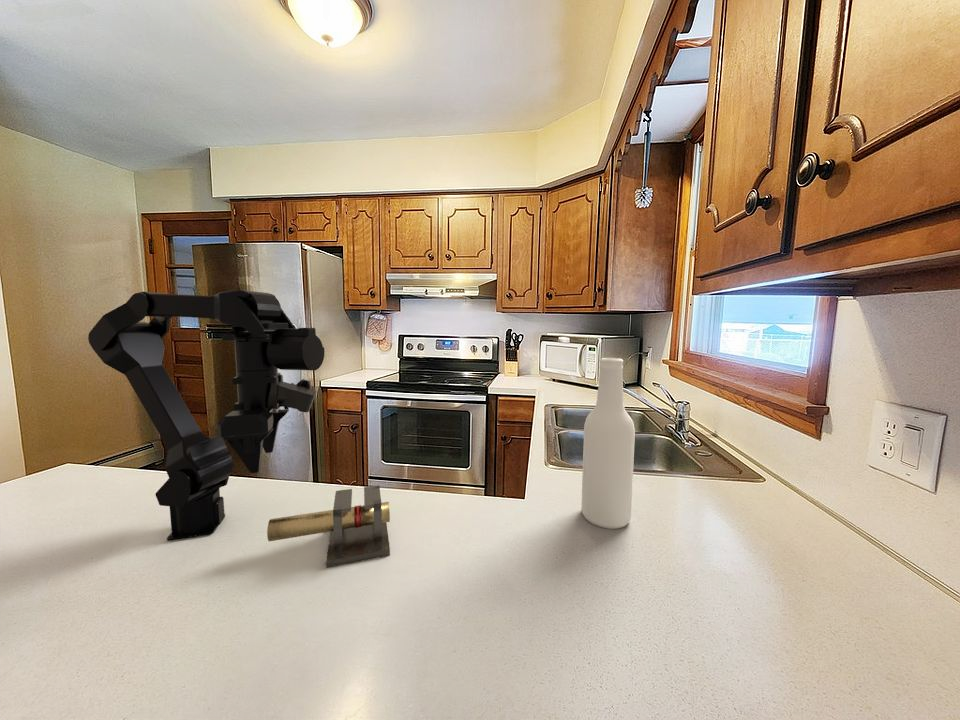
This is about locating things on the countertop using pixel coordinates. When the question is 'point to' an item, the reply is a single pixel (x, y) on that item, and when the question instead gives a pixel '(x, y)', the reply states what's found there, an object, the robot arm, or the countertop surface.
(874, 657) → the countertop surface
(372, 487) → the grey slotted stand
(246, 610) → the countertop surface
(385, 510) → the tube
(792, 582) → the countertop surface
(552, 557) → the countertop surface
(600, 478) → the alcohol
